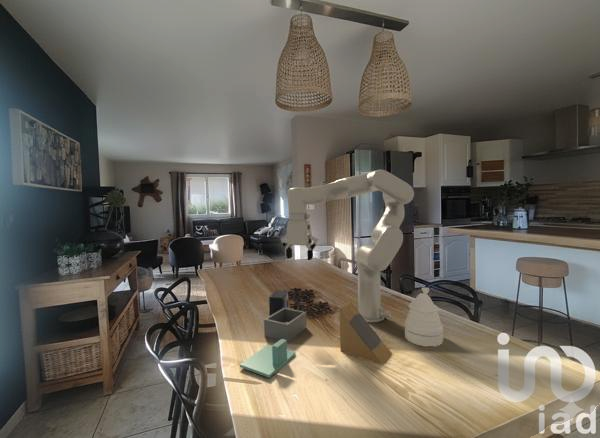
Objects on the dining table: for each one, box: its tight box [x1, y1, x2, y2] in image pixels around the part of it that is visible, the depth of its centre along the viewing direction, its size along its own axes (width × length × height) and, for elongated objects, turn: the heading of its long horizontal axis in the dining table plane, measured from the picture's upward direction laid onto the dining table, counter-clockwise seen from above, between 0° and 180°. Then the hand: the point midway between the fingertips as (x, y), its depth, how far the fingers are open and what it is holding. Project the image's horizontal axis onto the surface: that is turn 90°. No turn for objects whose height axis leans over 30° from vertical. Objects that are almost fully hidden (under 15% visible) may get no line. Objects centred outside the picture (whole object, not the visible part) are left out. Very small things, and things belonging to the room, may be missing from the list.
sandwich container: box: [339, 301, 393, 366], centre depth 95 cm, size 9×15×15 cm, turn 53°
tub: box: [263, 308, 307, 343], centre depth 110 cm, size 11×14×7 cm
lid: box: [239, 339, 296, 379], centre depth 90 cm, size 11×14×8 cm
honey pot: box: [404, 287, 444, 347], centre depth 104 cm, size 13×13×18 cm
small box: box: [268, 289, 289, 317], centre depth 128 cm, size 11×6×10 cm, turn 168°
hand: (299, 258), depth 118 cm, fingers open, 9 cm apart
